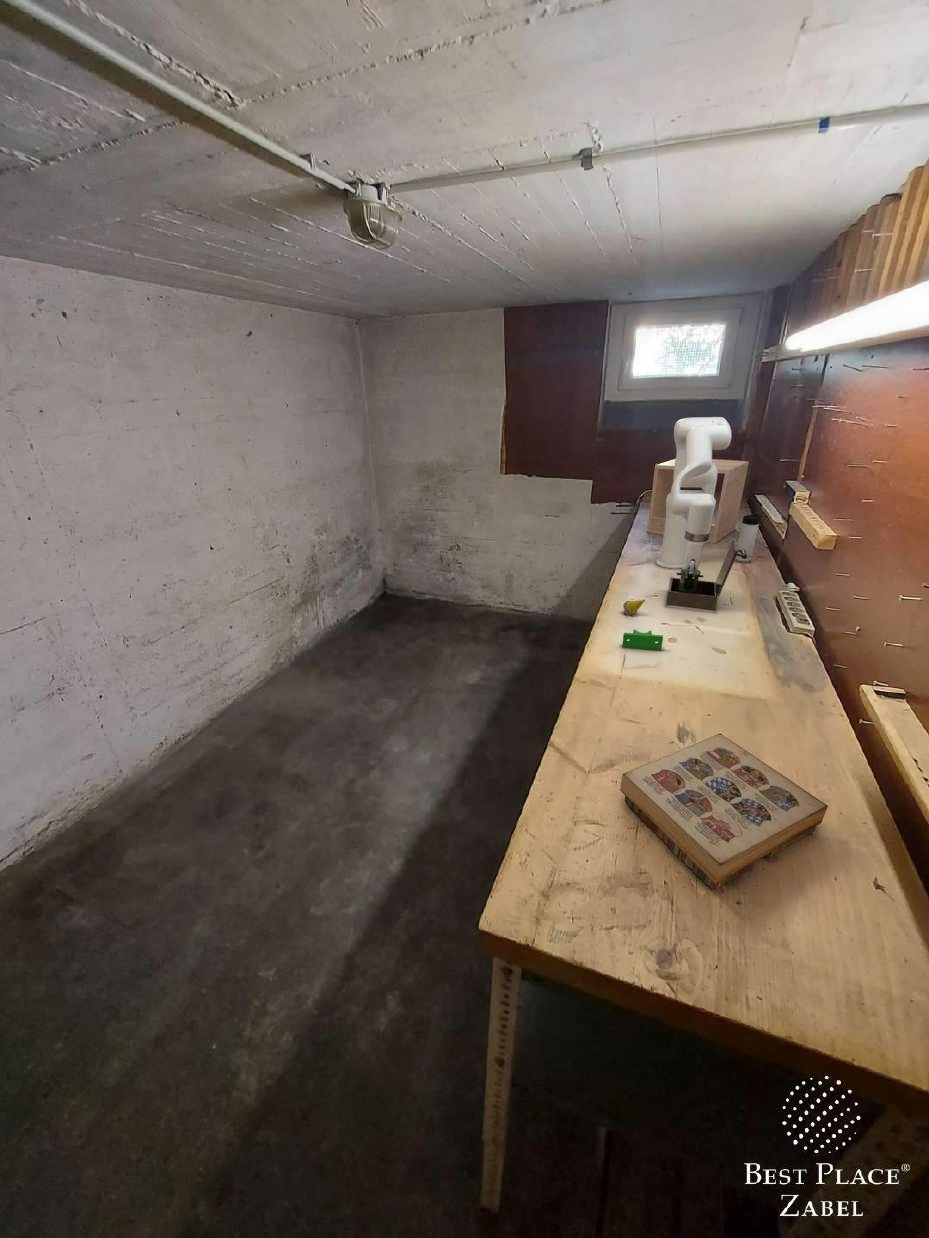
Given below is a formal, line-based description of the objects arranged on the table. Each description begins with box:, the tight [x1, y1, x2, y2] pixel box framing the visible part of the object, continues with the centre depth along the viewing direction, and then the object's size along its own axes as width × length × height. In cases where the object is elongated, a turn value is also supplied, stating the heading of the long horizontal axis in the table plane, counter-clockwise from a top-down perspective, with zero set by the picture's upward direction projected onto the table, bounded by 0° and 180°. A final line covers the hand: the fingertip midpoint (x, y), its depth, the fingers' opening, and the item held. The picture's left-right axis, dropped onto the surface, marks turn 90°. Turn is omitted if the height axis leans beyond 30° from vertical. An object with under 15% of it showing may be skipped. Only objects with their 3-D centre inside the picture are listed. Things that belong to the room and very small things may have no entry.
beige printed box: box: [619, 733, 829, 891], centre depth 90 cm, size 25×6×28 cm
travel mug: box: [734, 514, 762, 564], centre depth 206 cm, size 6×7×20 cm
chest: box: [665, 577, 719, 612], centre depth 173 cm, size 16×15×6 cm
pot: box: [676, 568, 705, 593], centre depth 172 cm, size 9×7×7 cm
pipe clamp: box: [621, 629, 664, 651], centre depth 147 cm, size 11×4×5 cm, turn 76°
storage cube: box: [646, 458, 750, 544], centre depth 246 cm, size 34×29×34 cm
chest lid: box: [715, 537, 747, 597], centre depth 164 cm, size 16×15×5 cm
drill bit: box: [623, 599, 646, 617], centre depth 165 cm, size 5×5×10 cm
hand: (688, 584), depth 173 cm, fingers closed on pot, 6 cm apart
